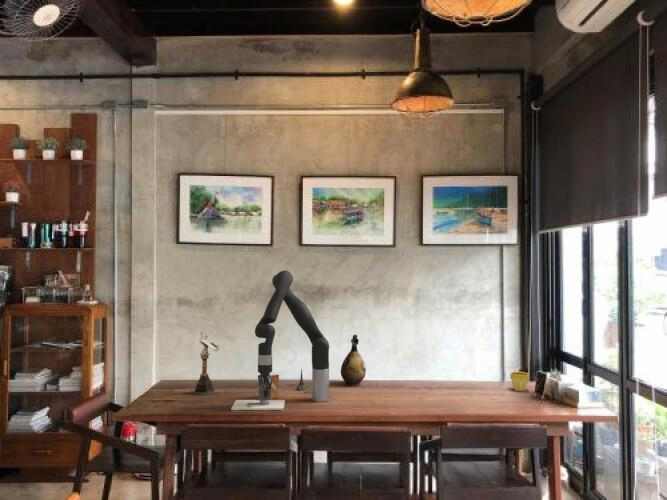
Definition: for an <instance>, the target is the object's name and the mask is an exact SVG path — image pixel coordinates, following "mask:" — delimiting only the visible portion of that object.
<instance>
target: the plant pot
mask: <svg viewBox="0 0 667 500" xmlns="http://www.w3.org/2000/svg"><path fill="white" fill-rule="evenodd" d="M509 375H510V377H509V378H510V380H511V384H512V389H513V391H515V392H516V391H517V392H525V391H526V389H527V386H528V385H527V384H528V381H529V379H530V374H529V373H528V372H524V371H511V372H510V373H509Z"/></svg>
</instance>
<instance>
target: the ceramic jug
mask: <svg viewBox="0 0 667 500" xmlns="http://www.w3.org/2000/svg"><path fill="white" fill-rule="evenodd" d="M359 341H360V340H359V338H358V334H353V335H352V338H351V340H350V342H351V349H350V351H349V352H348V354H347V355H346V356H345V358H344V359H343V361H342V364H341V368H340V376H341V378H342V380H343V382H344V385H345V386H349V387H357V386H360V385H361V383H362V381H363V380H364V379H365V377H366V374H367V370H366V364H365V361H364V360H363V357H362V356H361V354H360V352H359V350H358V347H357V346H358V345H359Z"/></svg>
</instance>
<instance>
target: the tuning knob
mask: <svg viewBox="0 0 667 500" xmlns="http://www.w3.org/2000/svg"><path fill="white" fill-rule="evenodd" d="M258 400H260V403H248V405H250V404H261V405H267V404H269V400H272V399H271V389H269V396H268V397H264V388H261V387H258Z"/></svg>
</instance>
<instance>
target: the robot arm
mask: <svg viewBox="0 0 667 500" xmlns="http://www.w3.org/2000/svg"><path fill="white" fill-rule="evenodd" d="M293 278H294V277H293V274H292V273H291V272H290V271H289V270H287V269H286V270H281V271H279V272H278V273H276V274H275V275H273V277H272V278H271V279H272V280H271V282H272V285H273V287H274V289H275V290H274V292H273V294H272V296H271V298H269V302H268V303H267V305H266V308H265V310H264V313H263V315H262V317H261V318H260V320H259V322H258V323H257V324H256V326H255V329H254V335H255V337H257V338H259V339H265V340H264V341H263V342H259V344H258V345H257V347H258V348H257V373H259V374H258V375H257V380H258V387H260V388H264V397H268V396H269V389H271V385H272V379H270V373H273V351H272V350H273V343H274V339H275V335H276V329H275V327H274V326H273V324H274V323H275V322H276V321H277V318H278V315H279V312H280V310H281V307H282V304H283V302H284V303H285V304H286V306H287V308H288V310H289V312H290V313H291V315H292V318H294V320H295V322H296V323H297V324H298V327H300V328H301V329H302V331H303V332H304V333H305V334H306V336H307V338H308V339H309V341H310V343H311V388H312V389H311V400H312V401H314V402H320V403H321V402H329V401H330V360H329V359H330V358H329V357H330V355H329V354H330V351H329V350H330V343H329V341H328V340H327V338H326V337H325V335H323V333H322V331H321V330H320V328H319V327H318V325H317V323H316V321H315V319H314V317H313V315H312V313H311V311H310V309H309V308H308V306H307V304H306V303H304V300H303V301H302V299H300V298H299V297H297V295H295V293H294V292H293V290H292V289H291V285H292V283H293V281H294V279H293Z"/></svg>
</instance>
